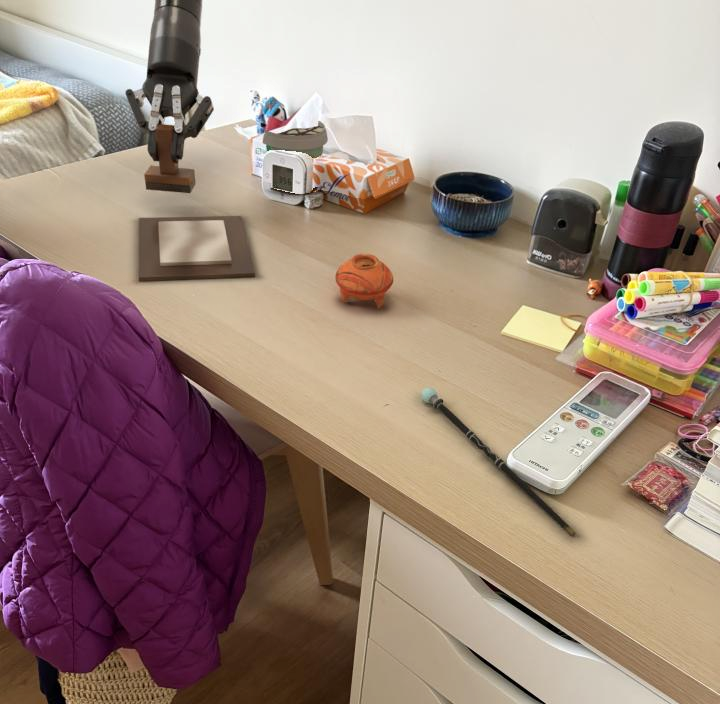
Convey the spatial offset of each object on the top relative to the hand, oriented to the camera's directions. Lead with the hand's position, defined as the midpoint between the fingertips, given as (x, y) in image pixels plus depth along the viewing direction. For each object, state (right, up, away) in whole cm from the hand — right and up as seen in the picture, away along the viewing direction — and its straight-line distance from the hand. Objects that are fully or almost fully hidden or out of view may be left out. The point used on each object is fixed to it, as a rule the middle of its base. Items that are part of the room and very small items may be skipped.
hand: (164, 159), depth 109 cm
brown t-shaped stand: (0, -2, +5) cm, 5 cm away
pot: (+30, -24, -10) cm, 40 cm away
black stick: (+44, -47, -33) cm, 72 cm away
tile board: (+5, -14, -2) cm, 15 cm away
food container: (+20, +3, +18) cm, 27 cm away
